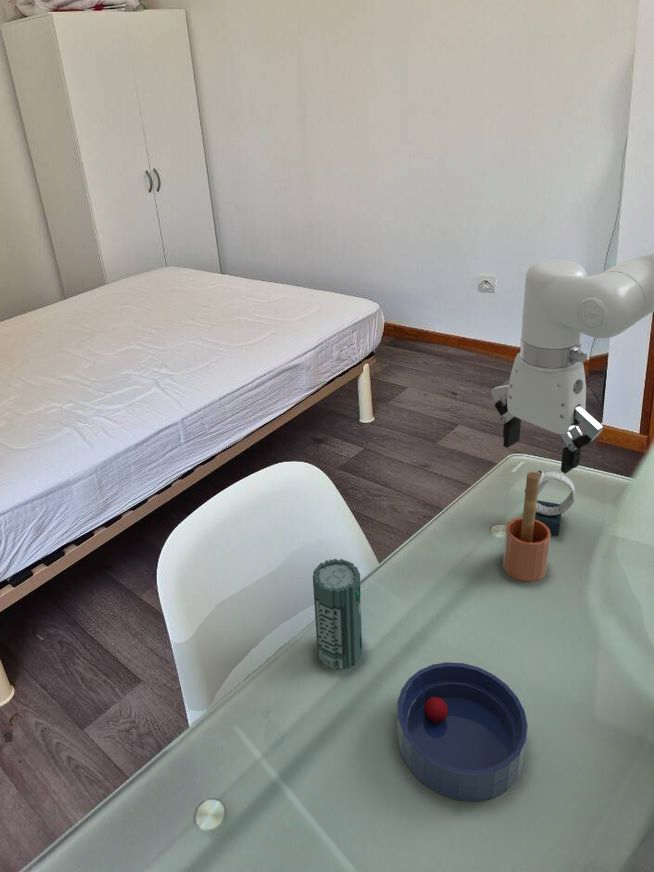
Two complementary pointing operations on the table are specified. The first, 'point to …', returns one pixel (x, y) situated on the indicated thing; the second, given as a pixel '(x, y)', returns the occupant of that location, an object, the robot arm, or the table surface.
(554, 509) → the watch
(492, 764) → the bowl
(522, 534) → the stick
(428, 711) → the ball
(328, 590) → the can
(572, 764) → the table surface
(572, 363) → the robot arm
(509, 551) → the crock
